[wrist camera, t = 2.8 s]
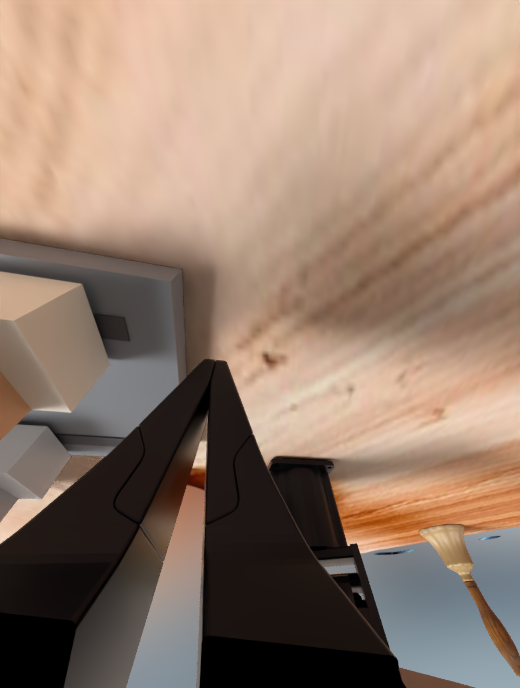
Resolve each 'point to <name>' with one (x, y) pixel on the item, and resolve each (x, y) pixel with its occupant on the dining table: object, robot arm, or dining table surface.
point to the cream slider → (45, 347)
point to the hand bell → (471, 584)
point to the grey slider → (28, 464)
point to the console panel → (113, 340)
